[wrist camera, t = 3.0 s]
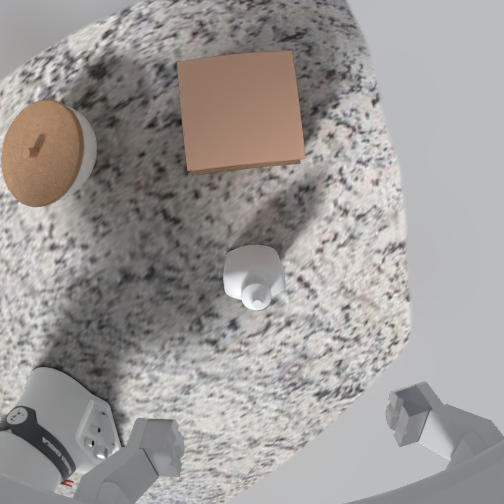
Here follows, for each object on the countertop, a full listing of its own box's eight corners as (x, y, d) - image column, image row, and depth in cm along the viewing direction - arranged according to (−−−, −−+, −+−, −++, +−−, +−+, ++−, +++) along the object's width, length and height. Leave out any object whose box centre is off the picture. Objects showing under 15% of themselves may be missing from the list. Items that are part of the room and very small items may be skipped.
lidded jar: (123, 117, 30) (85, 103, 21) (98, 208, 33) (56, 223, 24) (52, 104, 29) (6, 93, 20) (31, 187, 31) (-16, 196, 22)
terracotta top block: (294, 159, 28) (305, 158, 23) (196, 170, 28) (187, 171, 23) (283, 68, 25) (292, 50, 20) (187, 78, 25) (177, 62, 20)
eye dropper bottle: (266, 285, 36) (278, 339, 24) (220, 266, 35) (212, 314, 23) (282, 251, 35) (303, 292, 23) (236, 231, 34) (234, 264, 22)
